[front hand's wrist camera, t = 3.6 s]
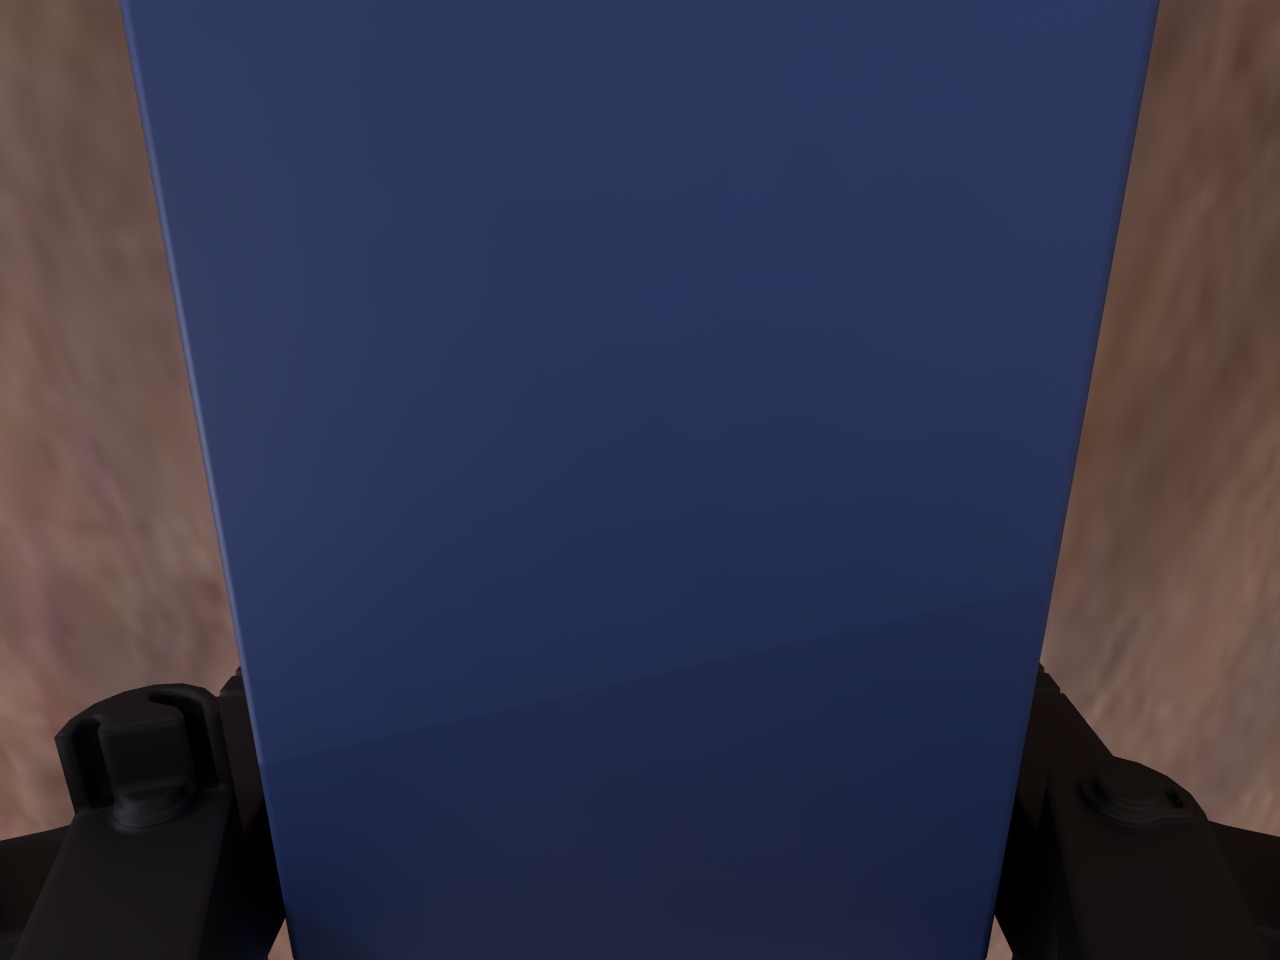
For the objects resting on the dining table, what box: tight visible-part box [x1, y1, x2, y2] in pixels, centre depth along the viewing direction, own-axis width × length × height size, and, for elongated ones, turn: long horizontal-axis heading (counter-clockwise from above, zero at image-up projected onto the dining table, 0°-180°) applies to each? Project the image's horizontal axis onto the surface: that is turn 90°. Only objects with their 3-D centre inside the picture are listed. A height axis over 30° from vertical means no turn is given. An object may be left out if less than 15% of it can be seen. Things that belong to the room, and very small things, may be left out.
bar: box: [119, 0, 1160, 960], centre depth 8 cm, size 22×6×8 cm, turn 0°
